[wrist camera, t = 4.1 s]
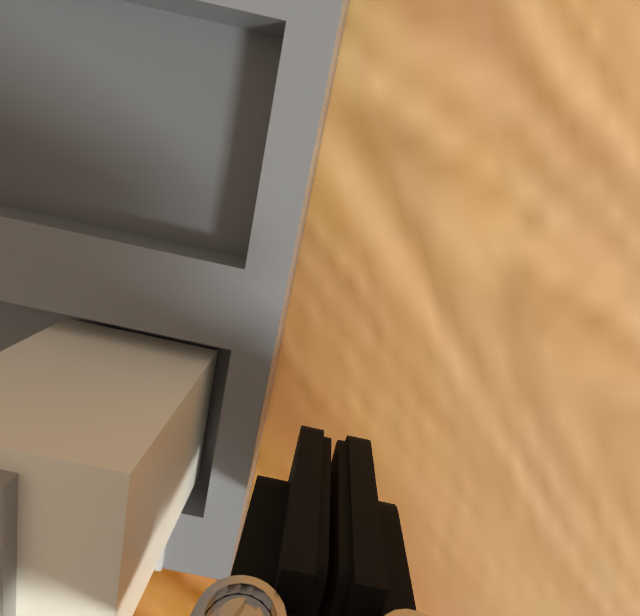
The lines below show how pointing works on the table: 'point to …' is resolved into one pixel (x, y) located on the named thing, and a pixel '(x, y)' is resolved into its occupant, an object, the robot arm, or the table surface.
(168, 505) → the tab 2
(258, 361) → the switch bank
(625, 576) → the table surface
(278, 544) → the robot arm
